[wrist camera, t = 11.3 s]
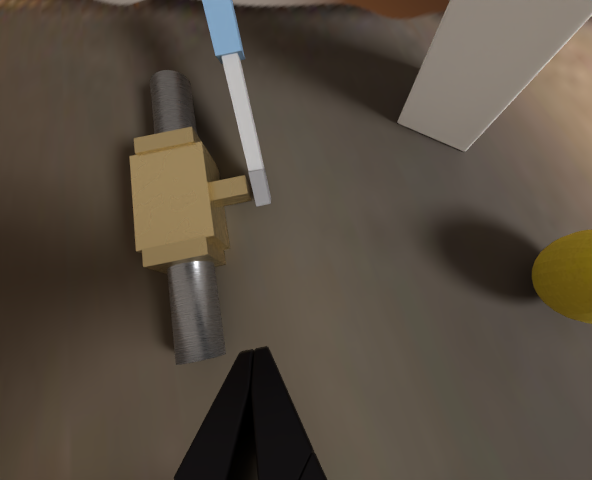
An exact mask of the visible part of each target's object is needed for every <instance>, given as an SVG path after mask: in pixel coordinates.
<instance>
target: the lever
mask: <svg viewBox="0 0 592 480" xmlns="http://www.w3.org/2000/svg"><path fill="white" fill-rule="evenodd" d="M202 2H203V6H204V10H205V14H206V18H207V22H208V26H209V31H210V35H211V39H212V43H213V47H214V51H215V55H216V57H217V58H218V60H219V61H220V62H221V64H223V65H224V69H225V74H226V78H227V82H228V86H229V90H230V95H231V99H232V103H233V107H234V111H235V116H236V120H237V124H238V128H239V132H240V137H241V141H242V145H243V149H244V153H245V158H246V162H247V166H248V170H249V172H248V173H249V177H250V181H251V185H252V190H253V194H254V198H255V202H256V206H261V205H266V204H271V195H270V190H269V186H268V181H267V177H266V172H265V168H264V164H263V160H262V155H261V151H260V146H259V142H258V137H257V133H256V128H255V124H254V119H253V115H252V110H251V106H250V101H249V97H248V92H247V88H246V83H245V79H244V74H243V69H242V65H241V60H244V59H245V57H244V52H243V47H242V43H241V38H240V34H239V29H238V24H237V20H236V15H235V10H234V6H233V1H232V0H202Z"/></svg>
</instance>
